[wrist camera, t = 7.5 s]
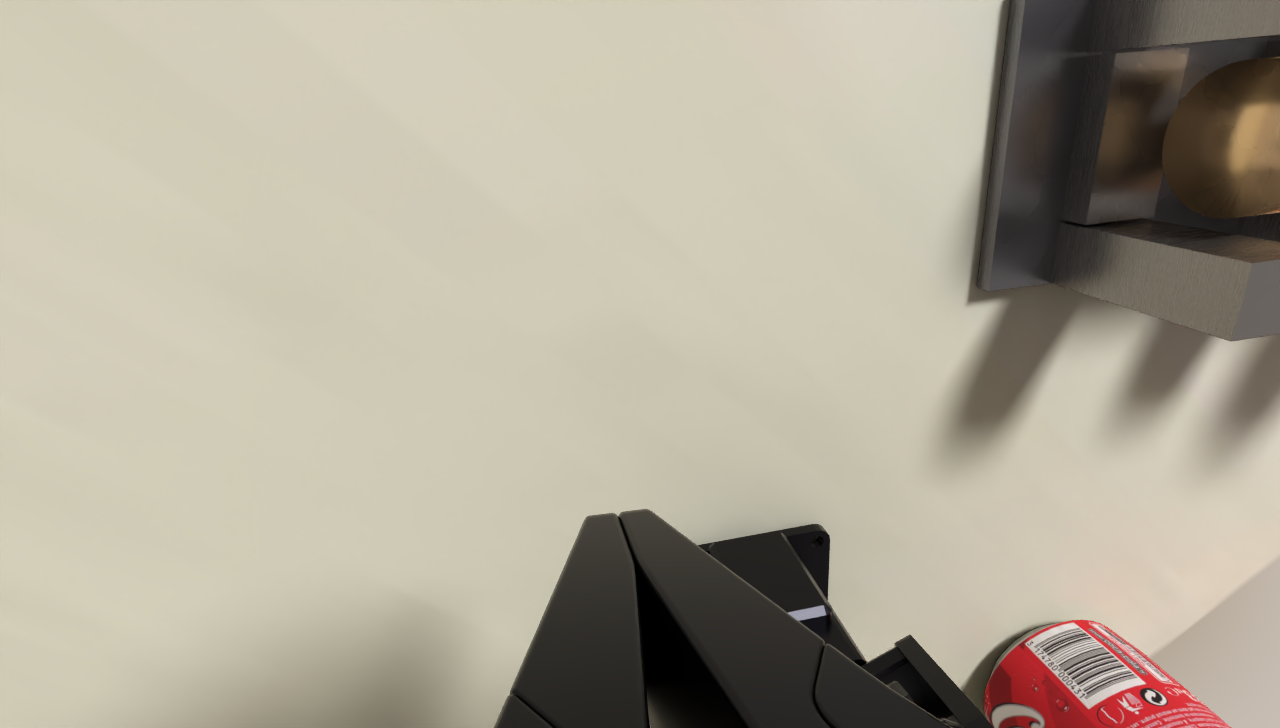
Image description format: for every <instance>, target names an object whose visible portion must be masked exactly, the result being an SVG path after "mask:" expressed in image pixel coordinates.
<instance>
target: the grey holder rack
mask: <svg viewBox="0 0 1280 728" xmlns="http://www.w3.org/2000/svg"><path fill="white" fill-rule="evenodd" d="M1272 57H1280V0H1011V2H1010V11H1009V19H1008V28H1007V36H1006V45H1005V53H1004V61H1003V70H1002V78H1001V87H1000V95H999V103H998V112H997V120H996V129H995V137H994V145H993V154H992V162H991V171H990V179H989V188H988V196H987V204H986V213H985V221H984V230H983V238H982V246H981V255H980V263H979V272H978V280H977V287H978V288H981V289H983V290H986V291H996V290H1003V289H1011V288H1018V287H1026V286H1033V285H1041V284H1048V283H1052V284H1055V285H1058V286H1061V287H1064V288H1068V289H1071V290H1074V291H1077V292H1080V293H1083V294H1086V295H1089V296H1092V297H1095V298H1098V299H1101V300H1105V301H1108V302H1111V303H1114V304H1117V305H1120V306H1123V307H1126V308H1129V309H1132V310H1135V311H1138V312H1141V313H1145V314H1148V315H1151V316H1154V317H1157V318H1160V319H1163V320H1166V321H1169V322H1172V323H1175V324H1178V325H1182V326H1185V327H1188V328H1191V329H1194V330H1197V331H1200V332H1203V333H1206V334H1209V335H1212V336H1215V337H1218V338H1222V339H1225V340H1228V341H1238V340H1244V339H1250V338H1257V337H1263V336H1270V335H1276V334H1280V212H1279V213H1271V214H1263V215H1255V216H1247V217H1239V218H1227V219H1222V218H1213V217H1208V216H1204V215H1202V214H1199V213H1197V212H1195V211H1193V210H1191V209H1189V208H1188V207H1187V206H1185V205H1184V204H1183V203H1182V202H1181V201H1180V200H1179V199H1178V198H1177V197H1176V196H1175V194H1174V193H1173V191H1172V190H1171V188H1170V186H1169V184H1168V182H1167V179H1166V176H1165V173H1164V168H1163V159H1162V152H1163V142H1164V137H1165V133H1166V129H1167V127H1168V124H1169V121H1170V119H1171V117H1172V115H1173V113H1174V111H1175V109H1176V108H1177V106H1178V105H1179V103H1180V102H1181V100H1182V99H1183V98H1184V97H1185V95H1186V94H1187V93H1188V92H1189V91H1190V90H1191V89H1192V88H1193V87H1194V86H1195V85H1196V84H1197V83H1198V82H1199V81H1201V80H1202V79H1203V78H1205V77H1206V76H1207V75H1209V74H1210V73H1212V72H1214V71H1216V70H1217V69H1219V68H1221V67H1224V66H1226V65H1229V64H1231V63H1235V62H1238V61H1242V60H1250V59H1260V58H1272Z"/></svg>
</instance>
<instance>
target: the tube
mask: <svg viewBox="0 0 1280 728" xmlns="http://www.w3.org/2000/svg"><path fill="white" fill-rule="evenodd" d="M1162 159H1163V168H1164V173H1165V176H1166V179H1167V182H1168V184H1169V186H1170V188H1171V190H1172V191H1173V193H1174V194H1175V196H1176V197H1177V198H1178V199H1179V200H1180V201H1181V202H1182V203H1183V204H1184V205H1185V206H1187V207H1188V208H1189V209H1191V210H1193V211H1195V212H1197V213H1199V214H1202V215H1204V216H1208V217H1213V218H1222V219H1227V218H1239V217H1247V216H1255V215H1263V214H1271V213H1279V212H1280V57H1272V58H1260V59H1250V60H1242V61H1238V62H1235V63H1231V64H1229V65H1226V66H1224V67H1221V68H1219V69H1217V70H1216V71H1214V72H1212V73H1210V74H1209V75H1207V76H1206V77H1205V78H1203V79H1202V80H1201V81H1199V82H1198V83H1197V84H1196V85H1195V86H1194V87H1193V88H1192V89H1191V90H1190V91H1189V92H1188V93H1187V94H1186V95H1185V97H1184V98H1183V99H1182V100H1181V102H1180V103H1179V105H1178V106H1177V108H1176V109H1175V111H1174V113H1173V115H1172V117H1171V119H1170V121H1169V124H1168V127H1167V129H1166V133H1165V137H1164V142H1163V152H1162Z"/></svg>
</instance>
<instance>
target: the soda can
mask: <svg viewBox="0 0 1280 728" xmlns="http://www.w3.org/2000/svg"><path fill="white" fill-rule="evenodd" d="M983 708H984V713H985V716H986V718H987V720H988V721H989V722H990V724H991V725H992V726H993V727H994V728H1231V727H1230V726H1229V725H1227V724H1226V723H1225V722H1224V721H1223V720H1222V719H1221V718H1219V717H1218V716H1217V715H1216V714H1215V713H1214V712H1212V711H1211V710H1210V709H1209V708H1208V707H1206V706H1205V705H1204V704H1203V703H1202V702H1201V701H1199V700H1198V699H1197V698H1196V697H1195V696H1193V695H1192V694H1191V693H1190V692H1189V691H1188V690H1186V689H1185V688H1184V687H1183V686H1182V685H1181V684H1179V683H1178V682H1177V681H1176V680H1175V679H1174V678H1172V677H1171V676H1170V675H1169V674H1167V673H1166V672H1165V671H1164V670H1163V669H1162V668H1160V667H1159V666H1158V665H1157V664H1156V663H1154V662H1153V661H1152V660H1151V659H1150V658H1148V657H1147V656H1146V655H1145V654H1144V653H1142V652H1141V651H1140V650H1138V649H1137V648H1135V647H1134V646H1133V645H1131V644H1130V643H1129V642H1127V641H1126V640H1124V639H1123V638H1122V637H1120V636H1119V635H1117V634H1116V633H1115V632H1113V631H1112V630H1110V629H1109V628H1108V627H1106V626H1104V625H1102V624H1101V623H1097V622H1094V621H1088V620H1072V621H1066V622H1061V623H1057V624H1050V625H1045V626H1042V627H1039V628H1036V629H1034V630H1032V631H1029V632H1028V633H1026V634H1024V635H1022V636H1021V637H1020V638H1018V639H1017V640H1015V641H1014V642H1013V643H1012V644H1011V645H1010V646H1009V647H1008V648H1007V649H1006V650H1005V651H1004V652H1003V653H1002V654H1001V656H1000V657H999V659H998V660H997V662H996V664H995V665H994V667H993V670H992V673H991V677H990V679H989V681H988V684H987V686H986V689H985V694H984V699H983Z"/></svg>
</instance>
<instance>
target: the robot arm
mask: <svg viewBox="0 0 1280 728" xmlns="http://www.w3.org/2000/svg"><path fill="white" fill-rule="evenodd" d="M816 536H818V538H817V539H816V540H814V541H811V540H812V539H813V538H814V537H816ZM829 550H830V537H829V535H828V533H827V532H826V531H825V529H824V528H823V527H822V526H821V525H818V524H811V525H806V526H800V527H795V528H790V529H784V530H779V531H773V532H768V533H762V534H757V535H751V536H746V537H740V538H735V539H730V540H724V541H719V542H713V543H708V544H702V545H696V544H695V543H693V542H692V541H691V540H689V539H688V538H687V537H685V536H684V535H683V534H681V533H680V532H679V531H677V530H676V529H675V528H673V527H672V526H671V525H669V524H668V523H667V522H665V521H664V520H663V519H661V518H660V517H659V516H657V515H656V514H655V513H653V512H652V511H650V510H648V509H641V510H633V511H625V512H621V513H620V514H619V516H617V515H616V514H614V513H608V514H600V515H591V516H588V517H586V519H585V520H584V522H583V525H582V527H581V529H580V531H579V534H578V536H577V538H576V541H575V543H574V545H573V548H572V550H571V552H570V555H569V557H568V559H567V561H566V564H565V566H564V568H563V571H562V573H561V575H560V578H559V580H558V582H557V584H556V587H555V589H554V591H553V594H552V596H551V598H550V601H549V603H548V605H547V607H546V610H545V612H544V614H543V617H542V619H541V621H540V624H539V626H538V628H537V631H536V633H535V635H534V637H533V640H532V642H531V644H530V647H529V649H528V651H527V654H526V656H525V658H524V660H523V663H522V665H521V667H520V670H519V672H518V674H517V677H516V679H515V681H514V684H513V686H512V688H511V691H510V695H509V696H508V697H507V699H506V701H505V703H504V706H503V708H502V710H501V713H500V715H499V717H498V720H497V722H496V724H495V726H494V728H650V724H651V727H652V728H994V727H993V726H992V725H991V724H990V722H989V721H988V720H987V719H986V718H985V717H984V715H983V714H982V713H981V712H980V711H979V710H978V709H977V708H976V707H975V705H974V704H973V703H972V702H971V701H970V700H969V699H968V698H967V697H966V696H965V694H964V693H963V692H962V691H961V690H960V689H959V688H958V687H957V686H956V684H955V683H954V682H953V681H952V680H951V679H950V678H949V677H948V676H947V675H946V673H945V672H944V671H943V670H942V669H941V668H940V667H939V666H938V665H937V664H936V662H935V661H934V660H933V659H932V658H931V657H930V656H929V655H928V654H927V653H926V651H925V650H924V649H923V648H922V647H921V646H920V645H919V644H918V643H917V641H916V640H915V639H914V638H913V637H912V636H911V635H908V636H907V637H905V638H903V639H901V640H899V641H898V642H896V643H894V644H895V647H894V648H892V649H890V650H889V651H887V652H885V653H883V654H881V655H880V656H878V657H876V658H874V659H872V660H871V661H869V662H867V661H866V660H865V658H864V656H863V655H862V653H861V652H860V650H859V649H858V647H857V646H856V644H855V643H854V641H853V640H852V638H851V636H850V635H849V633H848V632H847V630H846V629H845V627H844V626H843V624H842V623H841V621H840V620H839V618H838V616H837V615H836V613H835V612H834V610H833V609H832V607H831V605H830V604H829V602H828V576H829ZM649 721H650V724H649Z"/></svg>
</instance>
